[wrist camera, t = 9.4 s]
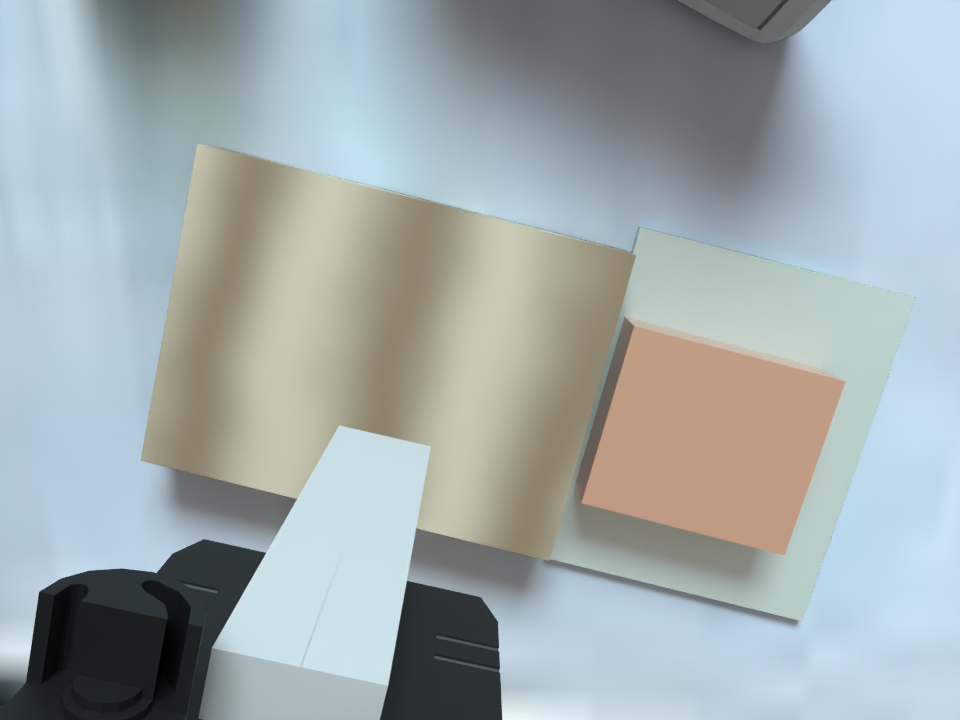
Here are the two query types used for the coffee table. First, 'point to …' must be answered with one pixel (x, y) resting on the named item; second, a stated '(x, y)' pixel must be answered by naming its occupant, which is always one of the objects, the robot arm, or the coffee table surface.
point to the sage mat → (767, 329)
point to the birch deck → (381, 343)
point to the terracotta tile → (706, 436)
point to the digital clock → (760, 16)
